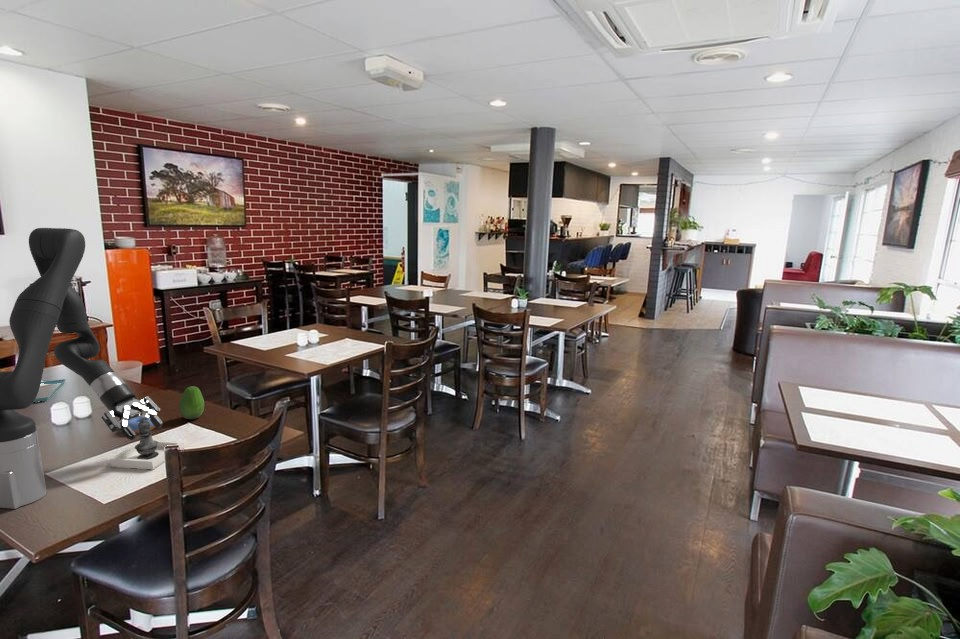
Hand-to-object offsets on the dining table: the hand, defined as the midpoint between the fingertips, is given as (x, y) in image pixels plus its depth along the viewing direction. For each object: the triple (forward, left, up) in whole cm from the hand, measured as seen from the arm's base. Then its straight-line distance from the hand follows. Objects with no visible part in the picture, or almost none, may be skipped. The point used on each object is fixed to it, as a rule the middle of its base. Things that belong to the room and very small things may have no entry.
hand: (147, 432), depth 146 cm
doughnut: (+20, +19, -9) cm, 28 cm away
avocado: (+30, +8, -9) cm, 32 cm away
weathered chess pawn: (0, +1, -8) cm, 8 cm away
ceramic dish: (0, +1, -8) cm, 8 cm away
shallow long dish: (+47, +84, -9) cm, 96 cm away
